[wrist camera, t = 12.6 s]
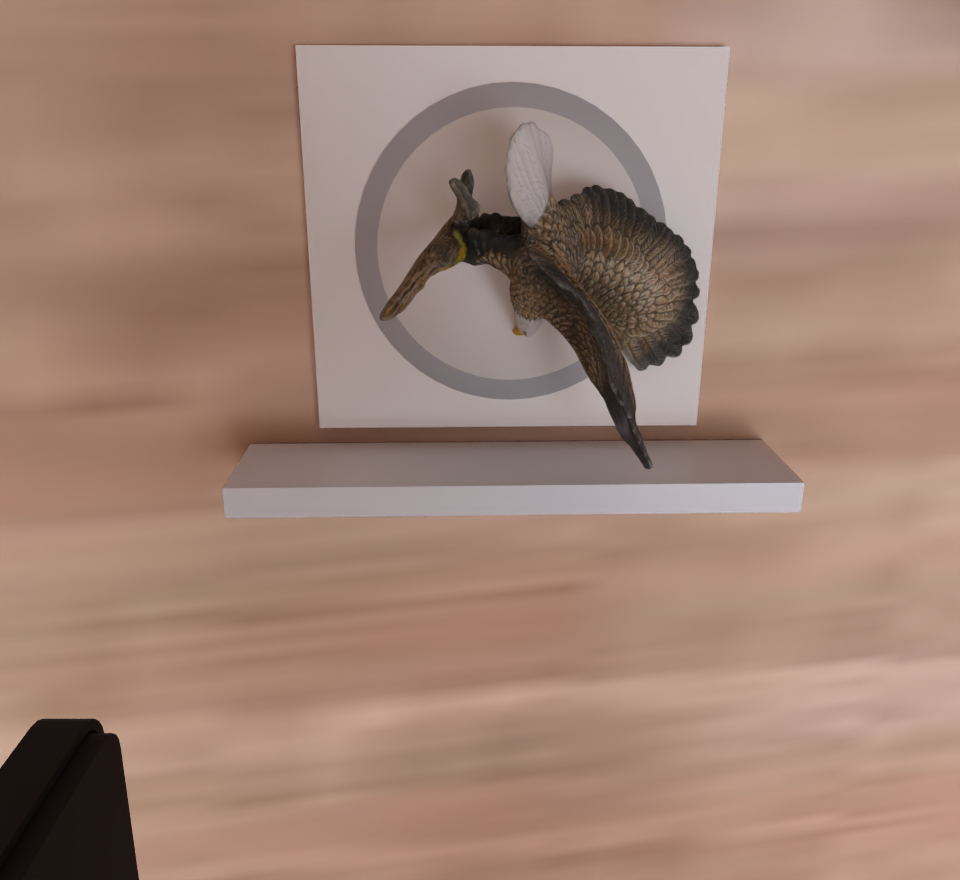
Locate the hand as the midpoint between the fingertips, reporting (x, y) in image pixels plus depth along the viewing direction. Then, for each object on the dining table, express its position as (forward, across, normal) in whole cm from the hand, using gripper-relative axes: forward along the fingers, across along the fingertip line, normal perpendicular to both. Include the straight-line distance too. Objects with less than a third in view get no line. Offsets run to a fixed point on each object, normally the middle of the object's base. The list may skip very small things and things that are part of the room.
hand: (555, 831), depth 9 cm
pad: (+22, 0, -4) cm, 22 cm away
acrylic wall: (+22, -1, +3) cm, 22 cm away
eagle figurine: (+21, -2, -3) cm, 21 cm away
